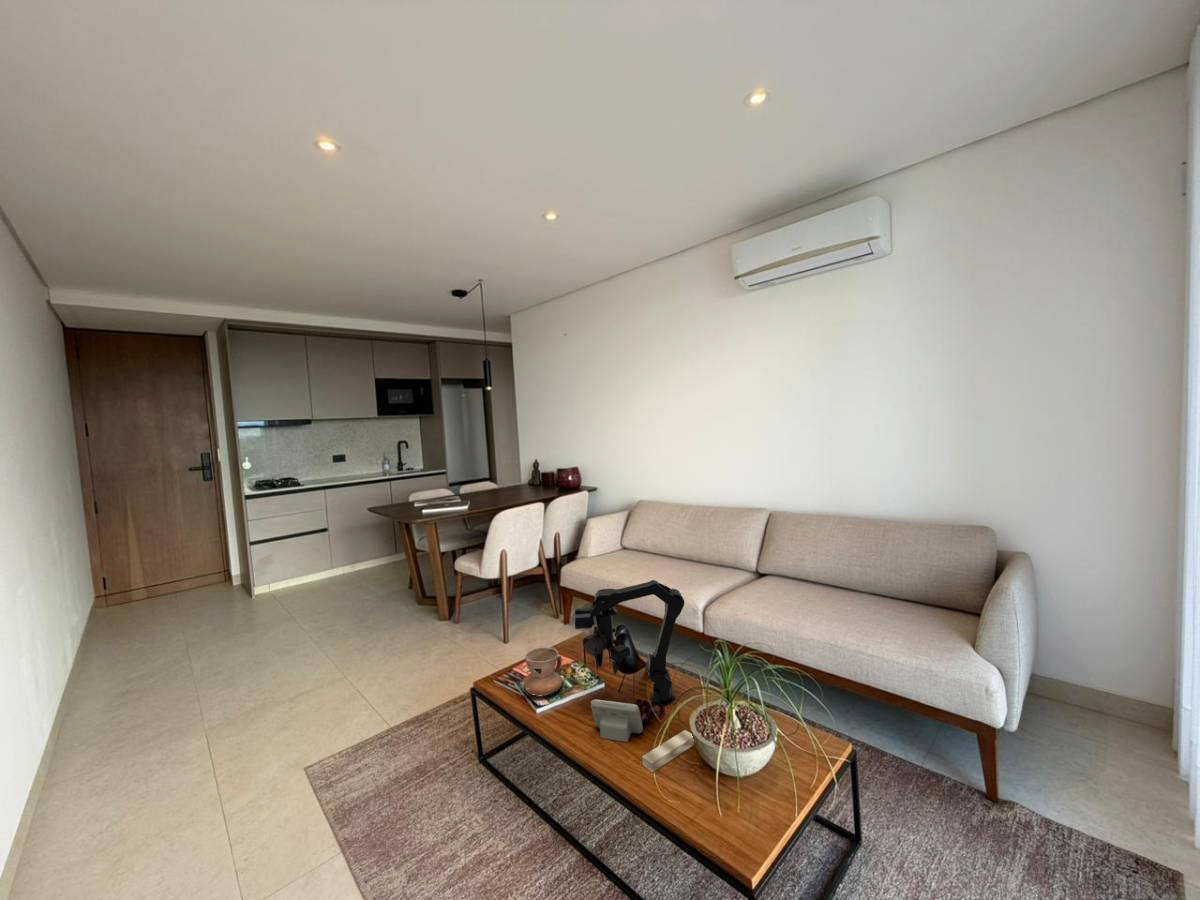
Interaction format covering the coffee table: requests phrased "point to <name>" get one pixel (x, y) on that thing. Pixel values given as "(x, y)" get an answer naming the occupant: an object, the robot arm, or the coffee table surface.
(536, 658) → the brown mug
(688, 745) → the pale gray wavy block
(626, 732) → the digital clock
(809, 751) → the coffee table surface
